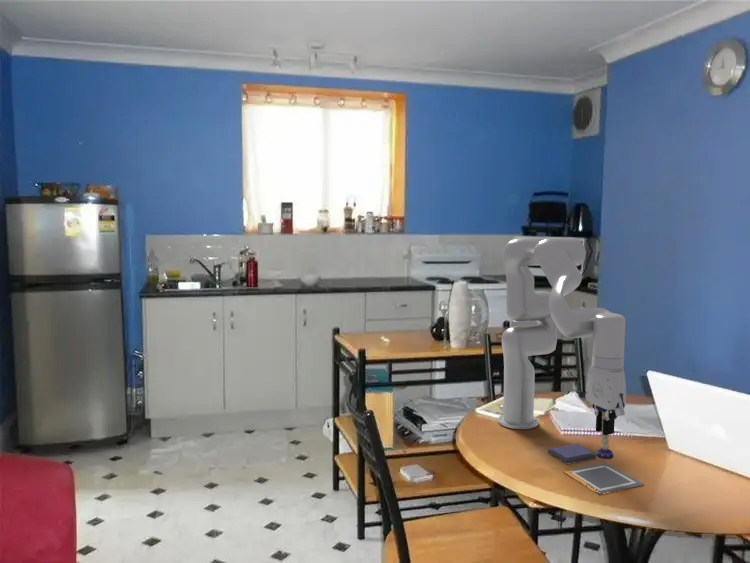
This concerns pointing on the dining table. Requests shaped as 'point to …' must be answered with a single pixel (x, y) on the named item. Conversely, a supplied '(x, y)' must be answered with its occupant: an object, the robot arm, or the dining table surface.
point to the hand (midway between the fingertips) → (604, 431)
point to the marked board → (605, 478)
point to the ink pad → (572, 454)
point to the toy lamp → (604, 441)
